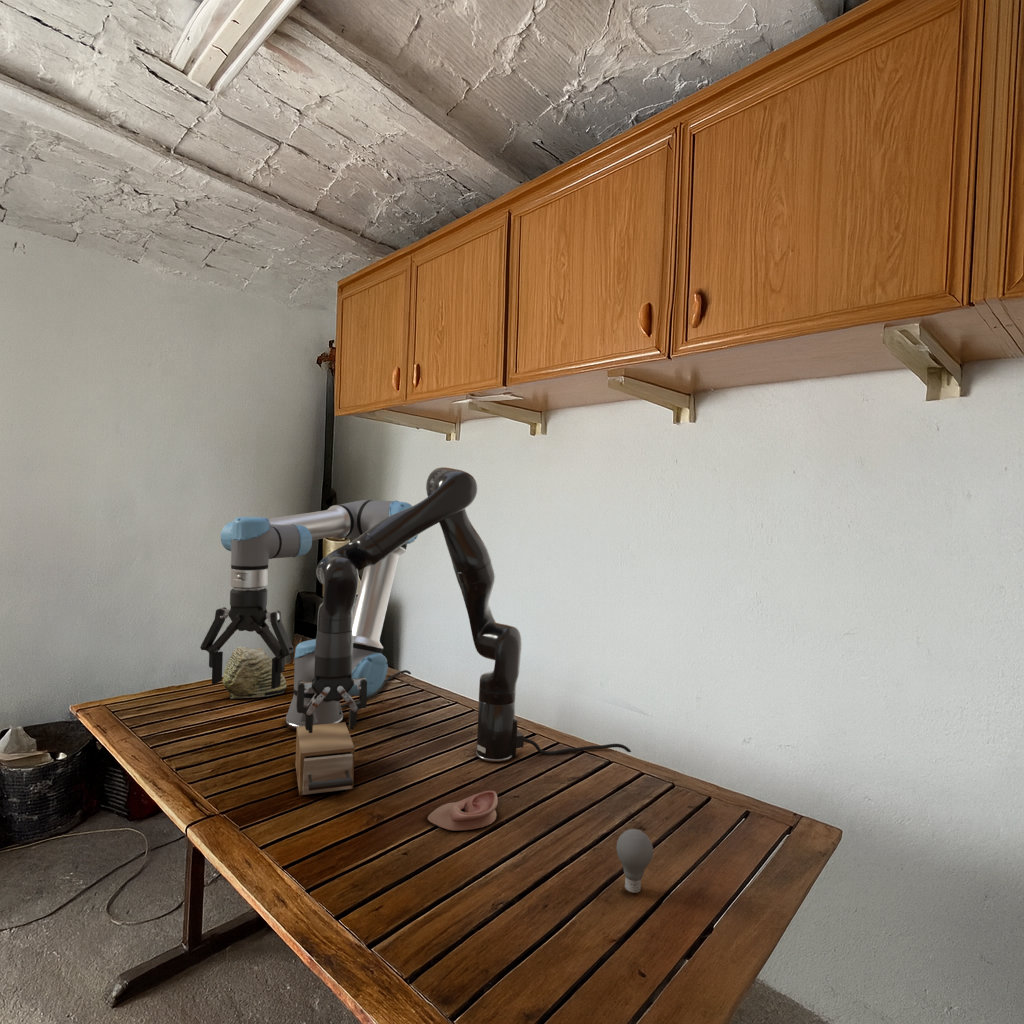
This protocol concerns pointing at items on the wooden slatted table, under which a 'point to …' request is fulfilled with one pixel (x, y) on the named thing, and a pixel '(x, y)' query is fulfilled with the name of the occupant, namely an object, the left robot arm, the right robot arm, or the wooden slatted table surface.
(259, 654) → the fossil
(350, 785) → the drawer
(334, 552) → the right robot arm
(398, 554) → the left robot arm
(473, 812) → the anatomical model
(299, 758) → the cabinet
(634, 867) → the light bulb
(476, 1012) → the wooden slatted table surface
